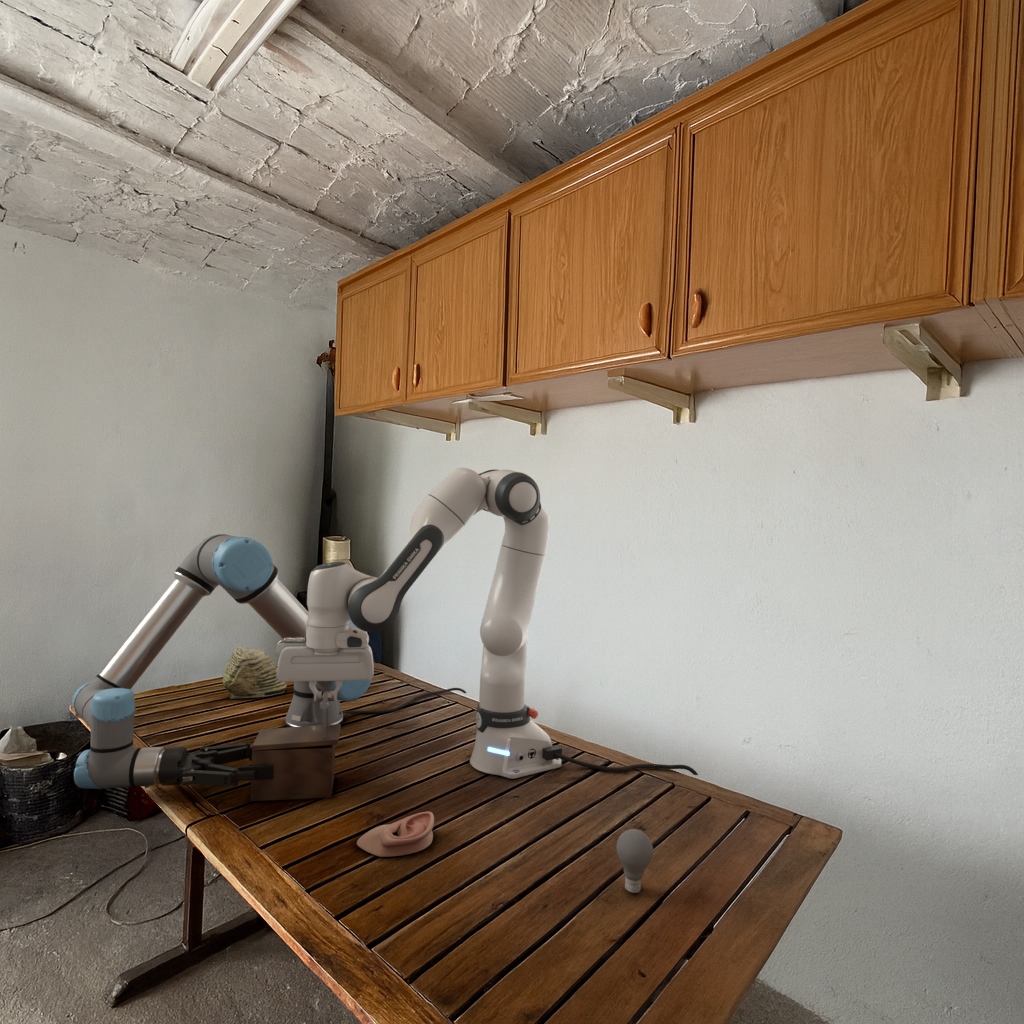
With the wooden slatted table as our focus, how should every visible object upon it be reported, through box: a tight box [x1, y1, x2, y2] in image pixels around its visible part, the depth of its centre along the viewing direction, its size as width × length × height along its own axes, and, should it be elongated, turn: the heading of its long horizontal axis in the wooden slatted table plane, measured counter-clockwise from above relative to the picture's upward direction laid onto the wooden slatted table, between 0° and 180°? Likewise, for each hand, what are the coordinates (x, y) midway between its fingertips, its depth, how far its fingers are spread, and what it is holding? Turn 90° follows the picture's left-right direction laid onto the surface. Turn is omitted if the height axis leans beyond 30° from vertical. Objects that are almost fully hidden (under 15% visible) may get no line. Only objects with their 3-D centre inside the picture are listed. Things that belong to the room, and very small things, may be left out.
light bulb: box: [615, 828, 654, 894], centre depth 106 cm, size 6×6×10 cm
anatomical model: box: [356, 811, 435, 858], centre depth 118 cm, size 13×4×12 cm
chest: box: [249, 745, 336, 802], centre depth 137 cm, size 16×9×10 cm, turn 102°
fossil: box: [222, 646, 288, 699], centre depth 198 cm, size 9×18×15 cm, turn 132°
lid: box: [251, 691, 342, 751], centre depth 136 cm, size 17×9×9 cm, turn 102°
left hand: (276, 761), depth 136 cm, fingers closed on chest, 9 cm apart
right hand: (325, 700), depth 137 cm, fingers closed on lid, 2 cm apart
